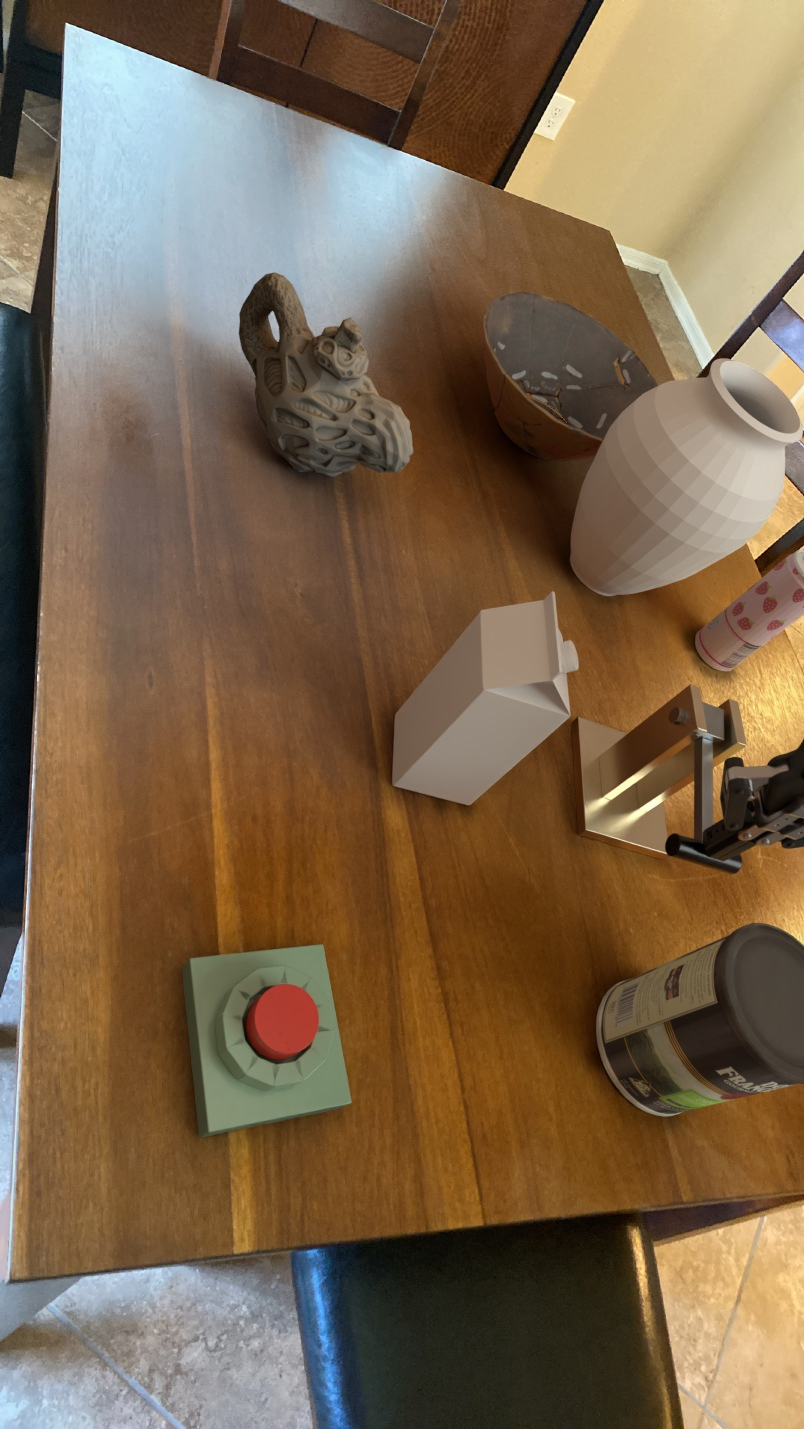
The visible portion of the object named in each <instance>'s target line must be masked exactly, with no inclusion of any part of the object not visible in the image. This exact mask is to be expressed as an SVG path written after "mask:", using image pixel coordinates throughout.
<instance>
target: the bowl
mask: <svg viewBox="0 0 804 1429" xmlns="http://www.w3.org/2000/svg"><path fill="white" fill-rule="evenodd" d="M481 329H482V341H483V342H482V344H483V349H484V350H483V351H484V360H485V368H486V379H487V385H488V391H489V395H490V400H491V403H492V406H493V407H492V408H493V412H494V416H495V418H496V421H497V423H498V424H499V427H500V428H501V431H502V432H503V433H504V434H505V435H506V437H507V438H508V439H509V440H510V441H511V442H512V443H513V444H515V445H516V446H517V447H518V448H520V449H521V450H523V451H524V452H526V453H528V454H530V455H532V456H534V457H537V458H539V459H541V460H545V461H550V462H561V463H564V462H565V463H566V462H574V461H580V460H584V459H590V458H595V456H596V454H597V452H598V450H599V448H600V446H601V444H602V442H603V440H604V438H605V436H606V434H607V432H608V430H609V428H610V426H611V425H612V424H613V423H614V421H615V420H616V419H617V418H618V416H619V415H620V414H621V413H622V412H623V411H624V410H625V409H626V408H627V407H628V406H629V405H631V404H632V403H633V402H634V401H635V400H636V399H637V398H639V397H640V396H641V395H642V394H644V393H645V392H647V391H649V390H651V389H653V388H655V387H657V386H659V385H658V383H657V381H656V380H655V377H654V376H653V375H652V374H651V372H650V371H649V369H648V368H647V366H646V365H645V363H644V362H643V361H642V359H641V358H640V356H638V355H637V353H636V351H635V350H634V349H632V348H631V346H630V345H628V344H627V343H626V342H625V341H624V340H623V339H622V338H620V336H618V335H617V334H616V333H615V332H614V331H613V330H612V329H610V328H609V327H607V326H606V325H604V324H603V323H602V322H600V320H598V319H596V318H595V317H594V316H592V315H590V314H588V313H586V312H583V311H582V310H581V309H578V308H576V307H575V306H573V305H571V304H569V303H566V302H564V301H561V300H558V299H555V298H553V297H550V296H546V295H543V294H540V293H534V292H529V291H517V292H510V293H505V294H501V295H498V296H496V297H495V298H493V299H492V300H491V301H490V302H489V304H488V305H487V307H486V309H485V312H484V315H483V319H482V328H481ZM618 366H619V370H620V374H621V376H622V379H623V380H624V381H623V383H622V380H621V377H620V375H619V371H618V370H617V368H618ZM526 393H529V395H530V396H532V397H534V398H536V399H538V400H540V401H542V402H544V403H547V405H550V406H552V407H553V409H554V410H555V409H556V411H558V412H559V413H560V414H561V415H562V417H563V418H564V419H565V421H566V422H567V423H566V422H565V421H564V420H563V418H561V417H560V416H559V415H558V414H557V413H556V412H554V411H553V410H552V409H550V408H549V407H547V406H546V405H544V404H542V403H540V402H538V401H536V400H533V399H531V398H529V397H528V396H527V394H526ZM552 407H551V408H552Z"/></svg>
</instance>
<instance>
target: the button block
mask: <svg viewBox="0 0 804 1429" xmlns="http://www.w3.org/2000/svg"><path fill="white" fill-rule="evenodd" d="M324 947H325V946H324V944H323V943H321V944H319V943H318V944H309V945H301V946H292V947H291V946H290V947H281V948H273V949H264V950H253V951H245V952H243V951H242V952H235V953H225V954H216V955H207V956H196V957H190V958H189V959H188V960H187V961H186V962H185V963H184V965H183V966H182V967H181V976H182V984H183V985H182V986H183V993H184V1003H185V1013H186V1023H187V1033H188V1043H189V1051H190V1061H191V1071H192V1080H193V1091H194V1099H195V1100H194V1101H195V1109H196V1118H197V1128H198V1137H199V1138H204V1137H210V1136H214V1135H219V1134H224V1133H229V1132H234V1131H239V1130H244V1129H248V1128H255V1127H257V1126H263V1125H268V1124H272V1123H273V1124H274V1123H277V1122H282V1121H287V1120H293V1119H298V1118H302V1117H307V1116H313V1115H316V1114H321V1113H327V1112H331V1111H335V1110H340V1109H342V1108H344V1107H346V1106H349V1105H351V1104H352V1102H353V1100H352V1096H351V1090H350V1086H349V1079H348V1074H347V1068H346V1063H345V1058H344V1051H343V1047H342V1041H341V1040H342V1039H341V1036H340V1030H339V1024H338V1019H337V1012H336V1007H335V1001H334V998H333V997H334V996H333V991H332V985H331V979H330V974H329V968H328V964H327V957H326V951H325V948H324ZM280 984H291V985H295V986H298V987H300V988H302V989H303V990H304V991H306V992H307V993H308V994H309V995H310V996H311V997H312V999H313V1001H314V1002H315V1004H316V1007H317V1010H318V1015H319V1025H318V1030H317V1033H316V1035H315V1037H314V1039H313V1041H312V1042H311V1043H310V1044H309V1045H308V1046H307V1047H306V1048H305V1049H303V1050H301V1051H300V1052H298V1053H297V1054H295V1055H293V1056H292V1057H289V1058H287V1059H281V1060H275V1059H270V1058H267V1057H265V1056H263V1055H262V1054H260V1053H259V1052H258V1051H257V1050H256V1049H255V1048H254V1047H253V1045H252V1044H251V1042H250V1040H249V1038H248V1035H247V1030H246V1019H247V1015H248V1011H249V1009H250V1007H251V1006H252V1004H253V1003H254V1002H255V1000H257V999H258V998H259V997H260V996H261V995H262V994H263V993H265V992H266V991H267V990H268V989H270V988H272V987H273V986H276V985H280Z"/></svg>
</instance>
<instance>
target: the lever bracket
mask: <svg viewBox="0 0 804 1429" xmlns="http://www.w3.org/2000/svg"><path fill="white" fill-rule="evenodd" d="M702 698H703V697H702V692H701V688H700V687H699V686H696V685H695V684H692V683H691V684H689V685H687V686H686V687H685V688H683V689H682V690H681V691H679V693H677V694H676V695H674V696H673V697H672V698H671V699H669V700H667V702H666V703H664V704H663V705H662V706H660V707H659V708H658V709H657V710H656V711H654V712H653V713H652V714H651V715H649V716H648V717H646V718H645V719H644V720H642V722H640V723H639V724H638V725H636V727H634V728H633V729H631V731H629V732H624V731H620V730H618V729H615V728H612V727H610V726H607V725H604V724H601V723H597V722H595V721H592V720H589V719H587V718H583V717H580V716H577V717H576V718H575V719H573V720H572V721H571V723H570V725H571V742H572V757H573V760H572V761H573V774H574V790H575V791H574V794H575V809H576V823H577V824H576V825H577V836H581V837H584V838H587V839H589V840H590V839H591V840H594V841H597V842H600V843H604V844H608V845H611V846H614V847H618V848H621V849H625V850H628V851H631V852H634V853H638V854H641V855H644V856H648V857H651V858H654V859H658V860H663V859H665V858H667V857H669V855H668V854H667V853H666V851H665V843H666V840H667V838H668V837H669V836H668V829H667V822H666V815H665V807H664V806H665V805H664V801H666V800H667V799H668V798H670V797H672V796H673V795H675V794H677V793H678V792H679V791H681V790H682V789H684V788H685V787H687V786H689V785H690V784H692V783H694V745H692V744H690V743H692V742H693V741H695V740H696V739H697V738H699V737H700V736H702V735H703V734H704V733H706V732H707V727H706V721H705V715H704V709H703V703H702V702H703V699H702ZM739 704H740V703H739V701H736V700H734V699H732V698H728V699H727V700H725V701H724V702H722V703H721V704H720V705H718V706H717V707H718V708H721V709H723V710H724V740H723V741H721V742H718V743H716V744H714V745H713V769H714V768H716V767H717V766H718V765H720V764H722V763H724V761H725V760H726V759H728V758H730V757H733V756H734V755H735V754H737V753H738V752H740V751H742V750H743V749H745V748H746V747H747V746H748V744H747V738H746V733H745V728H744V724H743V719H742V715H741V714H742V713H741V709H740V705H739Z"/></svg>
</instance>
